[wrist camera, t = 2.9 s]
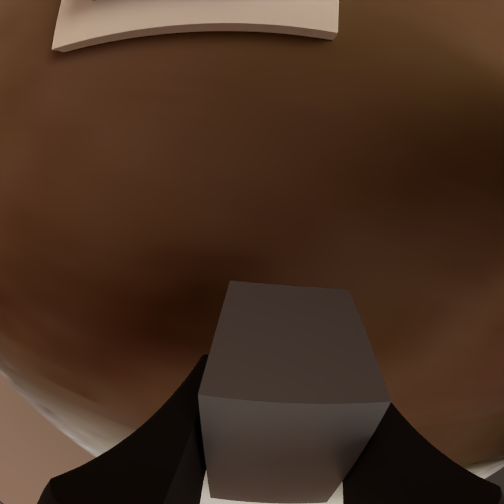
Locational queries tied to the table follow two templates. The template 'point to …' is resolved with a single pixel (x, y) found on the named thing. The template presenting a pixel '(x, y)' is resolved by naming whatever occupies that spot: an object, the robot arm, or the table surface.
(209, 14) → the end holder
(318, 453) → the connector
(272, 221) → the table surface
